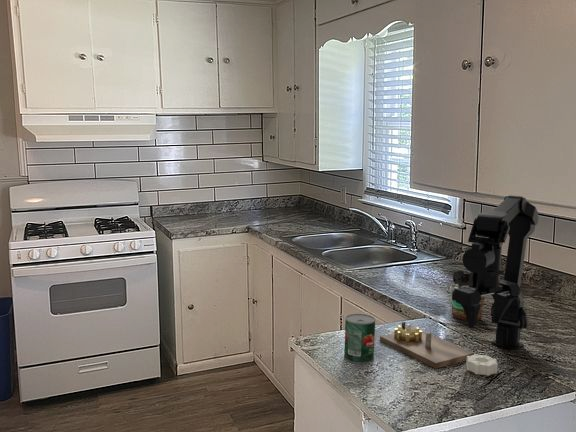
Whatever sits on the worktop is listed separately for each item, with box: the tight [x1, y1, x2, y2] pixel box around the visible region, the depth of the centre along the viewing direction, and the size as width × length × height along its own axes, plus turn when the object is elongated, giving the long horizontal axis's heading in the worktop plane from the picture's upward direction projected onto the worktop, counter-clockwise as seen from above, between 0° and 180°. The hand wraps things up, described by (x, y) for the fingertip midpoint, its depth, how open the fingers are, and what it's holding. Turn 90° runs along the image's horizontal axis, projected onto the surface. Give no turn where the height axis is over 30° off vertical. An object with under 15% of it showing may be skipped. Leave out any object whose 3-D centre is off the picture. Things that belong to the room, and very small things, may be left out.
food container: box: [449, 282, 487, 322], centre depth 191 cm, size 12×6×10 cm, turn 47°
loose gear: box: [465, 353, 498, 377], centre depth 151 cm, size 7×7×2 cm
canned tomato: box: [343, 313, 376, 365], centre depth 157 cm, size 8×8×11 cm
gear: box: [393, 321, 423, 342], centre depth 168 cm, size 8×8×4 cm
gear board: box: [379, 328, 475, 370], centre depth 164 cm, size 14×22×6 cm, turn 31°
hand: (484, 324), depth 150 cm, fingers open, 9 cm apart
